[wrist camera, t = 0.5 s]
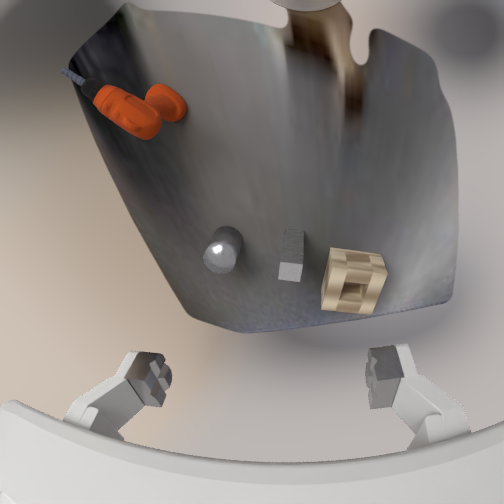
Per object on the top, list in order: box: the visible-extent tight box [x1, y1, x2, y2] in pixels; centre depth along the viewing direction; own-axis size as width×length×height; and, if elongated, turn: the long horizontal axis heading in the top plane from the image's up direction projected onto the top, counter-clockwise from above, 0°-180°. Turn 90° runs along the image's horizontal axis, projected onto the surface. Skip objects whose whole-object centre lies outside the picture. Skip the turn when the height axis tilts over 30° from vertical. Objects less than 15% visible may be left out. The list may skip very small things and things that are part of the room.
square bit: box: [278, 229, 304, 282], centre depth 50 cm, size 3×3×10 cm
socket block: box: [321, 248, 387, 315], centre depth 53 cm, size 10×10×6 cm
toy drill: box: [61, 67, 187, 140], centre depth 35 cm, size 5×19×15 cm, turn 49°
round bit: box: [203, 226, 243, 274], centre depth 53 cm, size 6×6×7 cm
